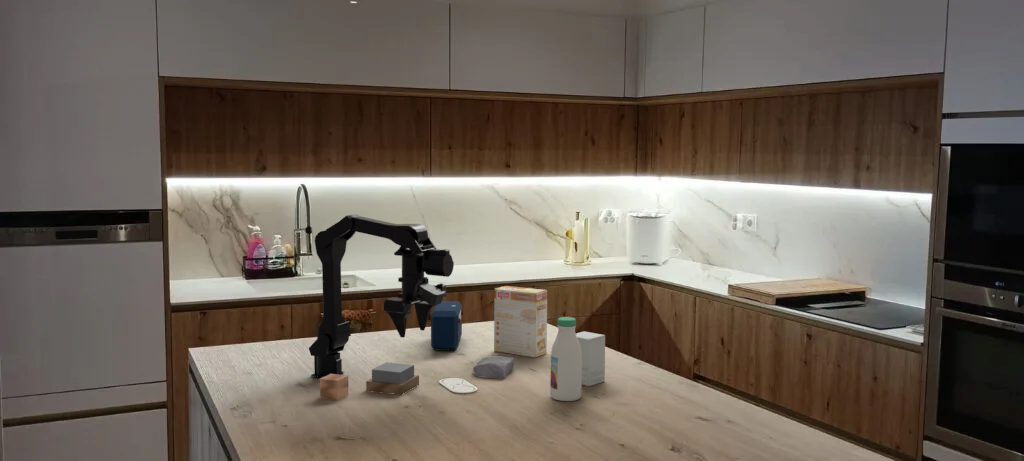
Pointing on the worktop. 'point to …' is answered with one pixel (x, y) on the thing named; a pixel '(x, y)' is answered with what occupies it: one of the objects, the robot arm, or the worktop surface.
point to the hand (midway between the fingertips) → (412, 333)
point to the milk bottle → (566, 362)
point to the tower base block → (392, 386)
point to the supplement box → (592, 357)
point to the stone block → (494, 367)
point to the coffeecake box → (520, 321)
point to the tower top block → (393, 373)
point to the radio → (446, 325)
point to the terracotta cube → (334, 386)
